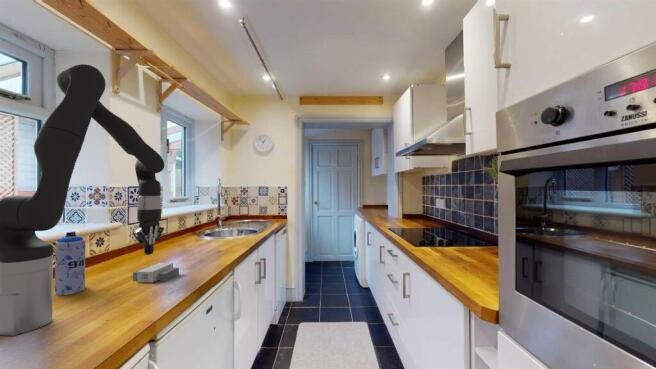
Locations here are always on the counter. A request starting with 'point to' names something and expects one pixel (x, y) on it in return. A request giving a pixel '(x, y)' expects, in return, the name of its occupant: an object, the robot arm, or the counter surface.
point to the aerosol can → (69, 264)
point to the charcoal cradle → (162, 274)
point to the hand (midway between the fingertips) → (149, 254)
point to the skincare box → (153, 272)
